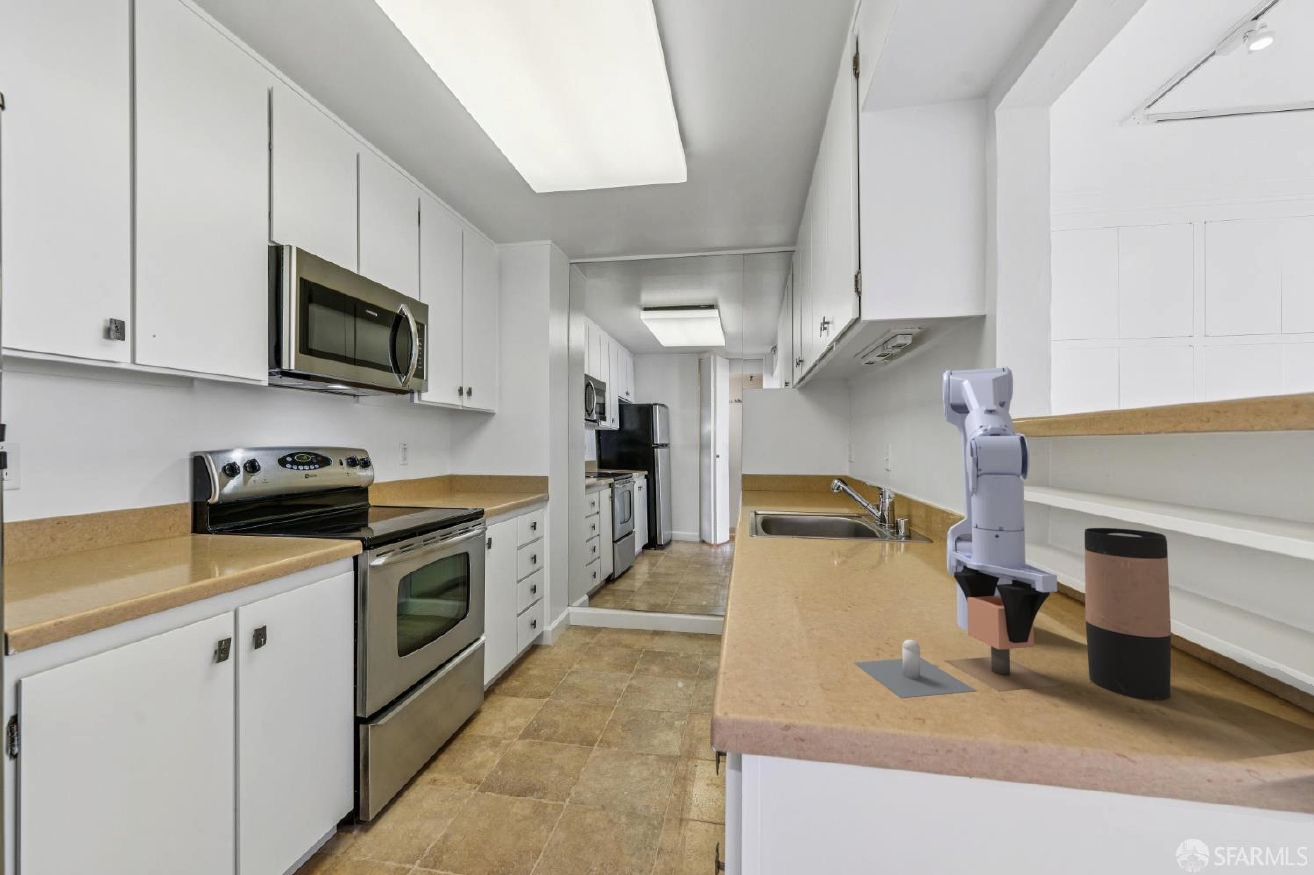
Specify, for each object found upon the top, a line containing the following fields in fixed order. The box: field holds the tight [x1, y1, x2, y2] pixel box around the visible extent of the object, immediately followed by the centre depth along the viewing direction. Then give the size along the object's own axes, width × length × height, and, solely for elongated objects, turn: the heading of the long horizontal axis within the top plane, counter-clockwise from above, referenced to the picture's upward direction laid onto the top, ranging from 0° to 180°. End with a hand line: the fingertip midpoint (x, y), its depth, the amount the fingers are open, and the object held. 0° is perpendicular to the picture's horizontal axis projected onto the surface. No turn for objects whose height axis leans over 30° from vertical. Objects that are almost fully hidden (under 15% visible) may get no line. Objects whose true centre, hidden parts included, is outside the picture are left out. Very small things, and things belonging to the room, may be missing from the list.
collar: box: [967, 596, 1035, 650], centre depth 66 cm, size 5×5×5 cm
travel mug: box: [1084, 527, 1172, 701], centre depth 62 cm, size 8×8×20 cm
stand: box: [944, 646, 1064, 692], centre depth 66 cm, size 9×9×6 cm
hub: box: [853, 639, 978, 699], centre depth 65 cm, size 10×10×6 cm
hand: (999, 633), depth 66 cm, fingers closed on collar, 5 cm apart
